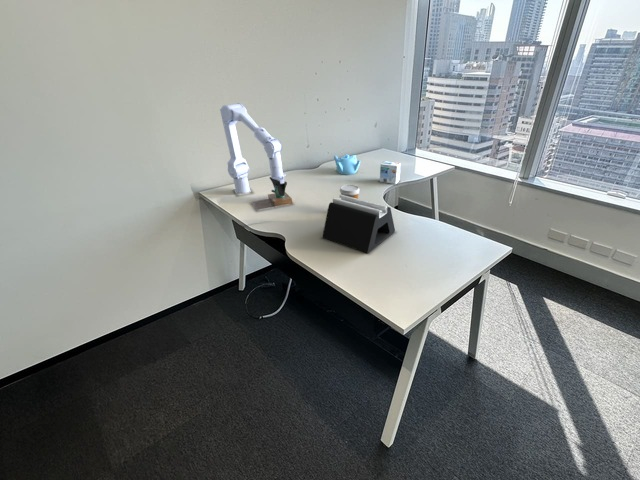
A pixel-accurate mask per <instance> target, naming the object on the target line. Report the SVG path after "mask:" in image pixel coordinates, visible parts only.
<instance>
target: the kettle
mask: <svg viewBox="0 0 640 480" xmlns="http://www.w3.org/2000/svg"><path fill="white" fill-rule="evenodd" d="M270 192H271V193H273V194H274V193H275V196H276V197H277V198H282V197H285V195H284V196H280V194H279V191H278V188H277V186H275V187H274V186H273V189H271V190H270Z"/></svg>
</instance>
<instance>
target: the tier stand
mask: <svg viewBox="0 0 640 480" xmlns="http://www.w3.org/2000/svg"><path fill="white" fill-rule="evenodd" d="M251 204H252V205H253V207H254V208H255V210H257V211H258V210H264V209H269V208H274V207H280V206H284V205H290V204H293V198H292V197H291V196H290V195H289V194H288V193H287V192H286V191H285V197H282V198H277V197H276V196H275V193H274V192H273V193H268V194H267V199H260V200H256V201H255V200H254V201H251Z"/></svg>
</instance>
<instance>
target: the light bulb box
mask: <svg viewBox="0 0 640 480" xmlns="http://www.w3.org/2000/svg"><path fill="white" fill-rule="evenodd" d="M400 176H401V162H394V161H386V160H385V161H383V162H381V163H380V167H379V182H380V183H386V184H392V185H397V184H398V183H399V182H400Z"/></svg>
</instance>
